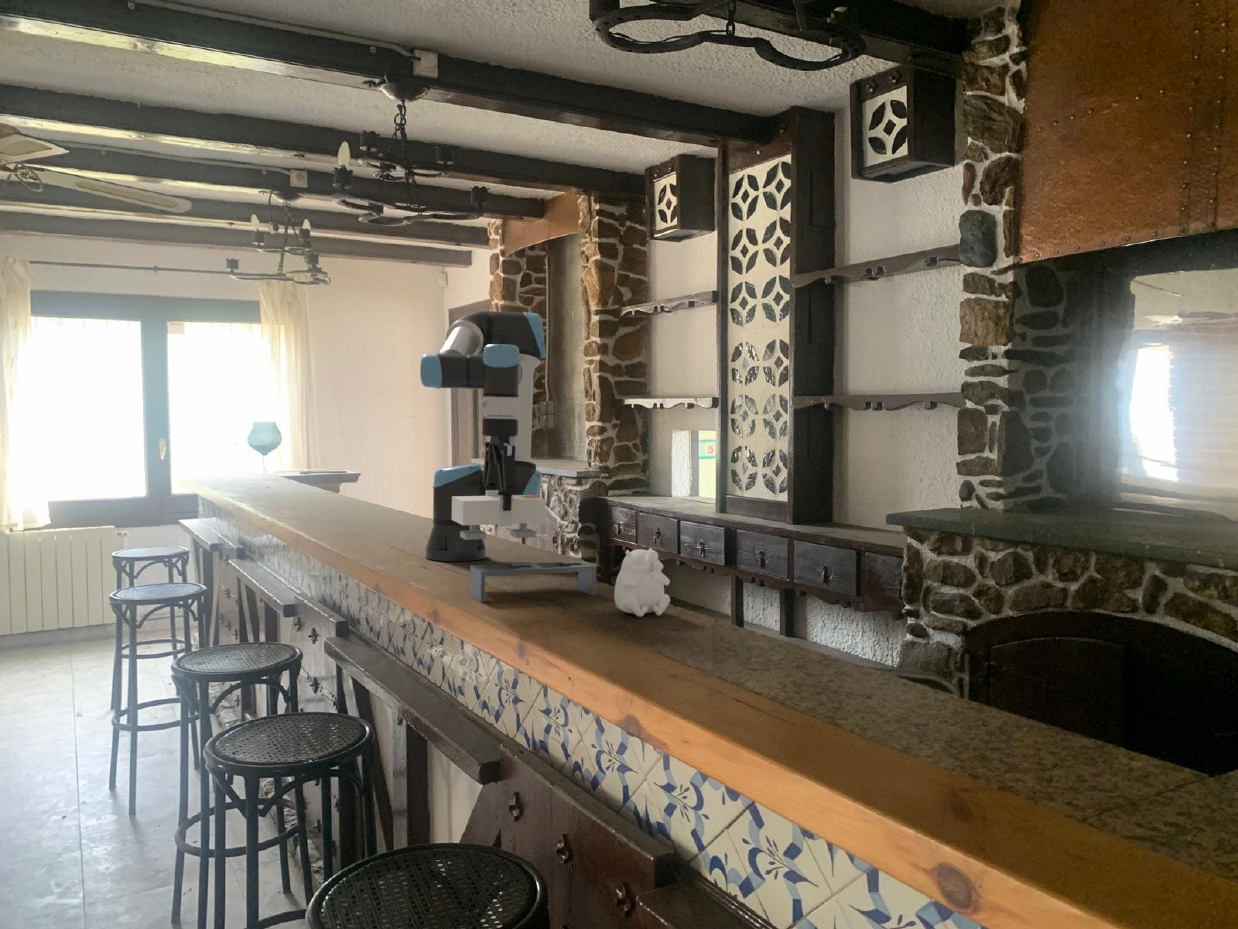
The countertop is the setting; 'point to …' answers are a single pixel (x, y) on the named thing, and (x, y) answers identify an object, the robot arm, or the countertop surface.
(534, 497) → the white rectangular block
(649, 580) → the figurine
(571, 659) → the countertop surface
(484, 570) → the rail
